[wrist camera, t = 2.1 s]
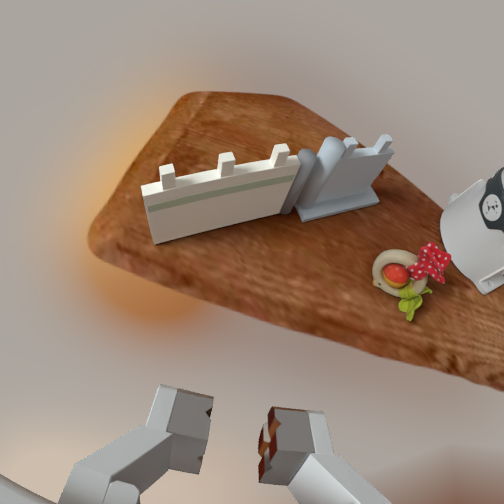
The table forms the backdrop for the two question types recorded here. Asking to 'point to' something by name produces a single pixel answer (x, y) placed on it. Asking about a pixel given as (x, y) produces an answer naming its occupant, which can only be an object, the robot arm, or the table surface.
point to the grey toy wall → (342, 178)
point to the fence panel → (225, 193)
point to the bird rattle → (409, 274)
